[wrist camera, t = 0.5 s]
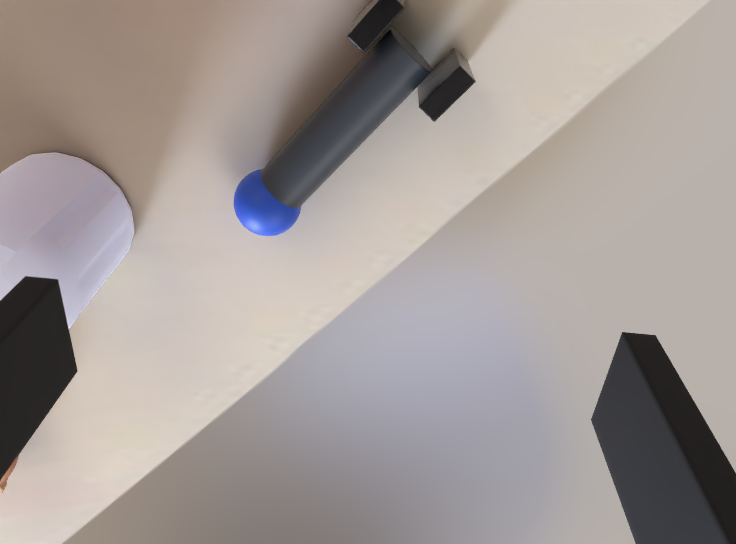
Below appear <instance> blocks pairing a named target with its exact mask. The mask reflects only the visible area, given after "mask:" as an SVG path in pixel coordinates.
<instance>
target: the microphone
mask: <svg viewBox="0 0 736 544" xmlns="http://www.w3.org/2000/svg"><path fill="white" fill-rule="evenodd" d="M431 72H432V70H431V68H430V66H429V64H428V63H427V62H426V60H425V59H424V58H423V56H422V55H421V54H420V53H419V52H418V51H417V50H416V48H415V47H414V46H413V45H412V44H411V43H410V42H409V41H408V40H407V39H406V38H404V37H403V36H402V35H401V34H400V33H399V32H397V31H396V30H394V29H390V30H389V31H388V32H387V33H386V34H385V35H384V36H383V37H382V39H381V40H380V41H379V42H378V43H377V44H376V45H375V46H374V47H373V48H372V50H371V51H370V52H369V53H368V54H367V55H366V56H365V57H364V58H363V60H362V61H361V62H360V63H359V64H358V65H357V66H356V67H355V68H354V69H353V71H352V72H351V73H350V74H349V75H348V76H347V77H346V78H345V79H344V80H343V82H342V83H341V84H340V85H339V86H338V87H337V88H336V89H335V90H334V91H333V93H332V94H331V95H330V96H329V97H328V98H327V99H326V100H325V101H324V103H323V104H322V105H321V106H320V107H319V108H318V109H317V110H316V111H315V112H314V114H313V115H312V116H311V117H310V118H309V119H308V120H307V121H306V122H305V123H304V125H303V126H302V127H301V128H300V129H299V130H298V131H297V132H296V133H295V135H294V136H293V137H292V138H291V139H290V140H289V141H288V142H287V143H286V144H285V146H284V147H283V148H282V149H281V150H280V151H279V152H278V153H277V154H276V155H275V157H274V158H273V159H272V160H271V161H270V162H269V163H268V164H267V165H266V166H265V168H264V169H262V170H257V171H254V172H252V173H250V174H249V175H247V176H246V177H245V178H244V179H243V180H242V181H241V182H240V184H239V185H238V187H237V189H236V192H235V196H234V208H235V212H236V215H237V217H238V219H239V220H240V222H241V223H242V224H243V225H244V226H245V227H246V228H247V229H248V230H250V231H251V232H253V233H256V234H258V235H263V236H273V235H278V234H281V233H283V232H285V231H286V230H288V229H289V228H290V227H291V226H292V225H293V224H294V223H295V222H296V220H297V218H298V216H299V214H300V210H301V205H302V204H303V203H304V202H305V201H306V200H307V199H308V198H309V197H310V196H311V195H312V194H313V193H314V192H315V191H316V189H317V188H318V187H319V186H320V185H321V184H322V183H323V182H324V181H325V180H326V179H327V178H328V177H329V176H330V175H331V174H332V173H333V172H334V171H335V170H336V169H337V168H338V167H339V166H340V165H341V164H342V163H343V162H344V161H345V160H346V159H347V158H348V157H349V156H350V155H351V154H352V153H353V152H354V151H355V150H356V149H357V148H358V147H359V146H360V145H361V144H362V142H363V141H364V140H365V139H366V138H367V137H368V136H369V135H370V134H371V133H372V132H373V131H374V130H375V129H376V128H377V127H378V126H379V125H380V124H381V123H382V122H383V121H384V120H385V119H386V118H387V117H388V116H389V115H390V114H391V113H392V112H393V111H394V110H395V109H396V108H397V107H398V106H399V105H400V104H401V103H402V102H403V101H404V100H405V99H406V98H407V97H408V95H409V94H410V93H411V92H412V91H413V90H414V89H415V88H416V87H417V86H418V85H419V84H420V83H421V82H422V81H423V80H424V79H425V78H426V77H427V76H428V75H429V74H430V73H431Z"/></svg>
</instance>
